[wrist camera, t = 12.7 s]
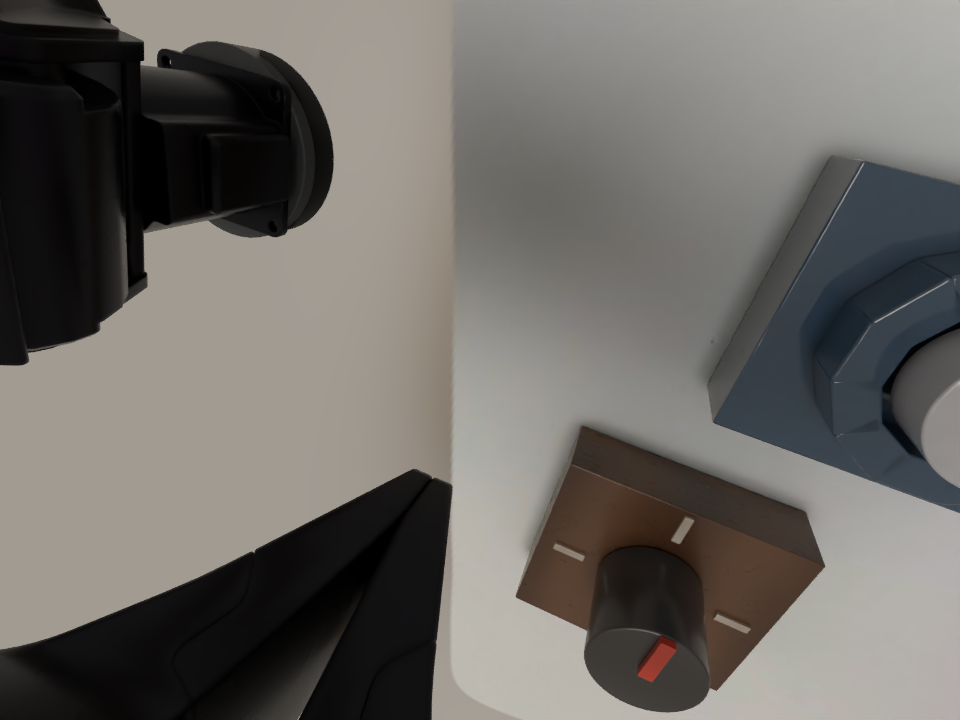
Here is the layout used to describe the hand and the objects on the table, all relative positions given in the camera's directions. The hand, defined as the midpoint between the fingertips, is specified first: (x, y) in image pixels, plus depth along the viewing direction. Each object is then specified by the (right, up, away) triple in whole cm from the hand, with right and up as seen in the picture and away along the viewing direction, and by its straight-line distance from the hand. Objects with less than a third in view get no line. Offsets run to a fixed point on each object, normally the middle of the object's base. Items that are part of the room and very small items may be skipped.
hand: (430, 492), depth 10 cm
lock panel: (+9, -6, +14) cm, 18 cm away
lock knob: (+8, -7, +12) cm, 16 cm away
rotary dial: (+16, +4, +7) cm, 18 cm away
